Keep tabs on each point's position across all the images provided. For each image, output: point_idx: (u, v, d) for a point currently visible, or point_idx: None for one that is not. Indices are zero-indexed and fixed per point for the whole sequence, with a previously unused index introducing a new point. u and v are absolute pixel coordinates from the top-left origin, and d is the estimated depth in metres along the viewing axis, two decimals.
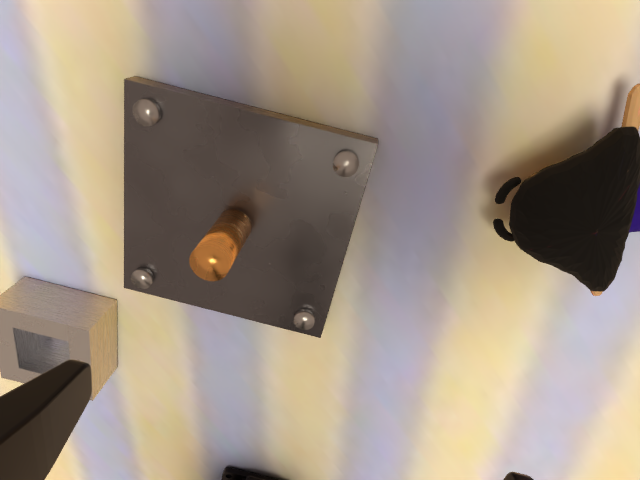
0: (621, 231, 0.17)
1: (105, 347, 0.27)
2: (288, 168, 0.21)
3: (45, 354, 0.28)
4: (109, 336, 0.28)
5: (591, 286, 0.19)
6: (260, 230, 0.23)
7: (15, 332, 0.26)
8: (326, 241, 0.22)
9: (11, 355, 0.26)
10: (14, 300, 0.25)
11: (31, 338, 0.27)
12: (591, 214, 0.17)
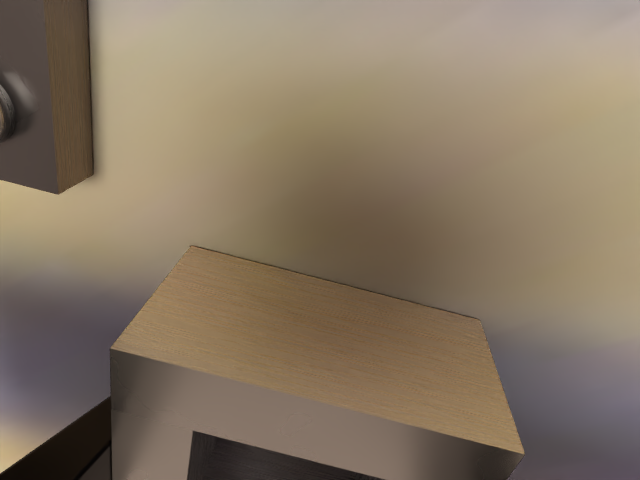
0: None
1: (318, 326, 0.07)
2: None
3: None
4: (294, 301, 0.08)
5: None
6: None
7: None
8: None
9: None
10: None
11: None
12: None
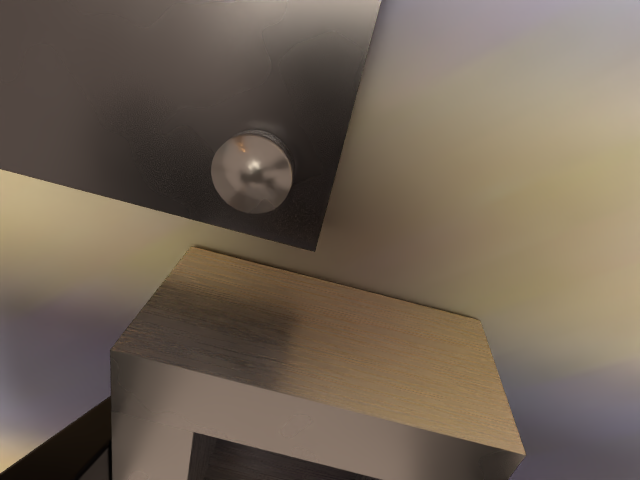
0: None
1: (318, 328, 0.07)
2: None
3: None
4: (295, 302, 0.08)
5: None
6: None
7: None
8: None
9: None
10: None
11: None
12: None
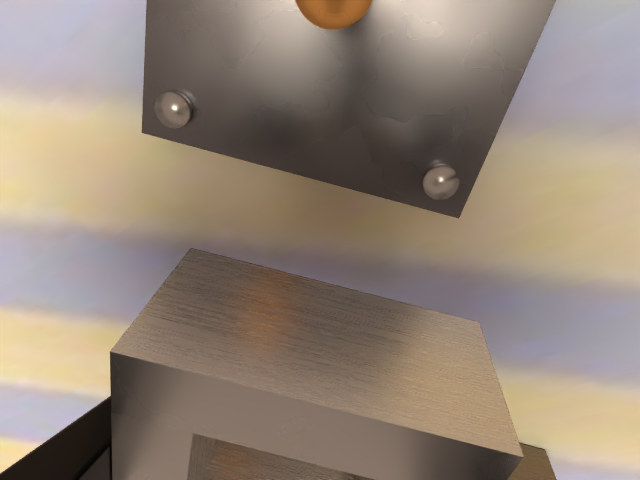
0: None
1: (317, 329, 0.07)
2: None
3: None
4: (294, 304, 0.08)
5: None
6: None
7: None
8: None
9: None
10: None
11: None
12: None
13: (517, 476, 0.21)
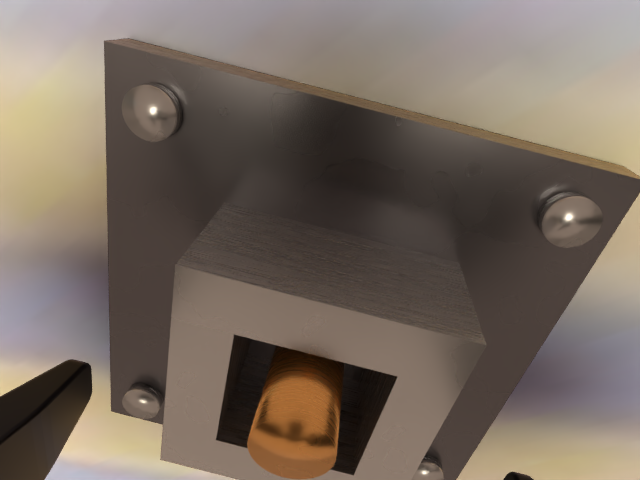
0: None
1: (329, 260, 0.09)
2: (191, 222, 0.11)
3: (363, 407, 0.11)
4: (310, 243, 0.10)
5: None
6: None
7: (240, 439, 0.10)
8: (345, 156, 0.10)
9: None
10: None
11: None
12: None
13: None
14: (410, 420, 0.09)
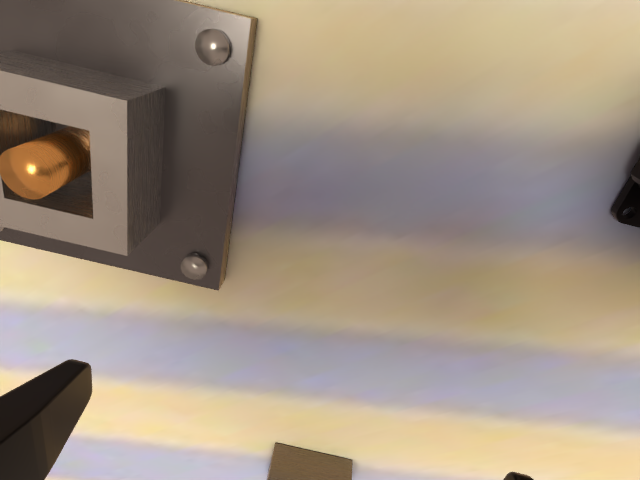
0: None
1: (60, 71, 0.15)
2: None
3: None
4: (55, 67, 0.16)
5: None
6: None
7: (22, 200, 0.16)
8: (75, 11, 0.16)
9: (67, 221, 0.16)
10: None
11: (77, 197, 0.17)
12: None
13: None
14: (109, 166, 0.15)
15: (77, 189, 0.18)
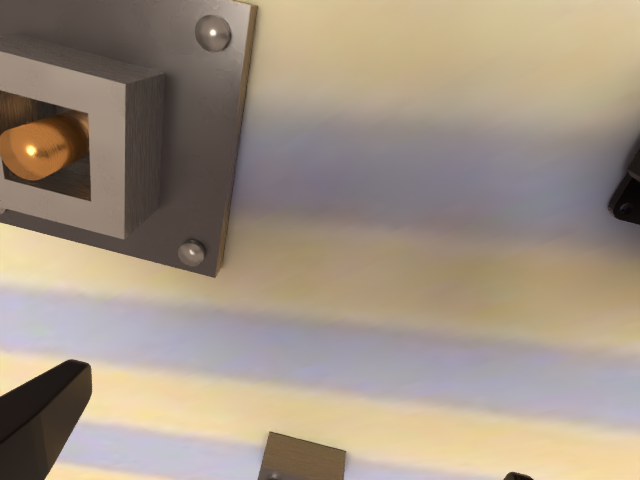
0: None
1: (61, 55, 0.15)
2: None
3: None
4: (57, 50, 0.16)
5: None
6: None
7: (22, 181, 0.16)
8: None
9: (66, 203, 0.17)
10: None
11: (76, 181, 0.17)
12: None
13: (308, 473, 0.26)
14: (107, 149, 0.15)
15: (77, 173, 0.18)
